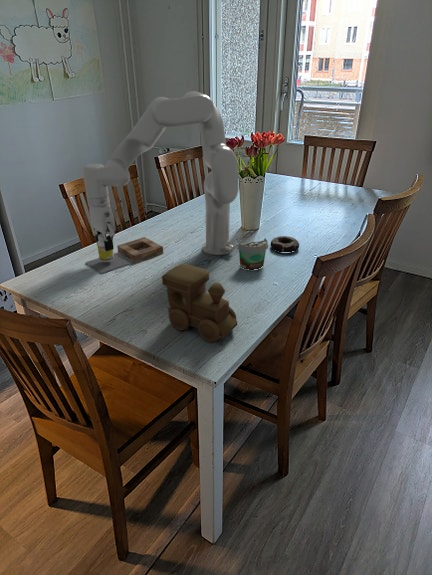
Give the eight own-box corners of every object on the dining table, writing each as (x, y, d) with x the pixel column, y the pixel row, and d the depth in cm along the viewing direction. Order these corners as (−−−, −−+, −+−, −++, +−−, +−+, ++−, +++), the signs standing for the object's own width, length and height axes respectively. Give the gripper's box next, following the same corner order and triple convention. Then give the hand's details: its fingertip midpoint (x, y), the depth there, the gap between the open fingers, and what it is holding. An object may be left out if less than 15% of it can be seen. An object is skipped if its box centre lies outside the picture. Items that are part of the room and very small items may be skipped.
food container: (245, 275, 151) (246, 250, 146) (236, 268, 155) (237, 243, 150) (273, 268, 156) (275, 243, 151) (264, 261, 160) (265, 237, 155)
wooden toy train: (162, 325, 123) (159, 276, 115) (185, 308, 131) (183, 261, 123) (219, 348, 114) (220, 296, 105) (240, 328, 122) (242, 278, 114)
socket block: (163, 253, 166) (162, 246, 165) (135, 263, 159) (134, 255, 157) (145, 243, 175) (144, 237, 173) (118, 252, 167) (117, 245, 166)
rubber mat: (129, 264, 158) (129, 263, 157) (100, 274, 151) (100, 273, 150) (113, 254, 165) (113, 253, 165) (85, 263, 158) (85, 262, 158)
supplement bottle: (100, 256, 159) (97, 232, 154) (114, 255, 160) (112, 232, 155) (98, 262, 155) (94, 238, 150) (113, 262, 155) (110, 238, 150)
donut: (264, 249, 171) (265, 240, 169) (281, 241, 178) (281, 232, 176) (287, 257, 164) (288, 248, 162) (304, 248, 171) (305, 239, 169)
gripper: (120, 203, 142) (126, 251, 151) (96, 192, 153) (103, 238, 162) (101, 208, 138) (107, 257, 147) (77, 197, 149) (85, 243, 158)
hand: (105, 247), depth 155 cm, fingers closed on supplement bottle, 5 cm apart
